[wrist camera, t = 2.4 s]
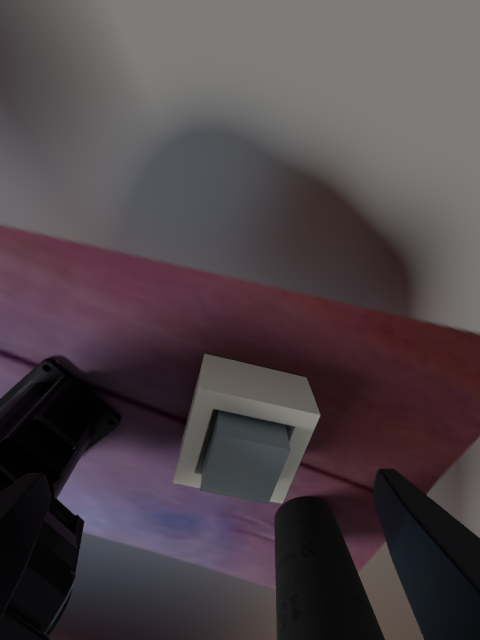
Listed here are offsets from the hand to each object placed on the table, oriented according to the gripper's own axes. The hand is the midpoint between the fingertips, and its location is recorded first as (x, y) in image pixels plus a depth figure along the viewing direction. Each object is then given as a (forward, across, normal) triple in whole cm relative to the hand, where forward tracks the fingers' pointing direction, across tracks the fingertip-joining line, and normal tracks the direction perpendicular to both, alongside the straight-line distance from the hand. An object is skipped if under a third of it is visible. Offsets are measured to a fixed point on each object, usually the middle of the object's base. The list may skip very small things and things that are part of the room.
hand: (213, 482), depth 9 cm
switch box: (+12, -1, +7) cm, 14 cm away
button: (+10, -1, +7) cm, 12 cm away
